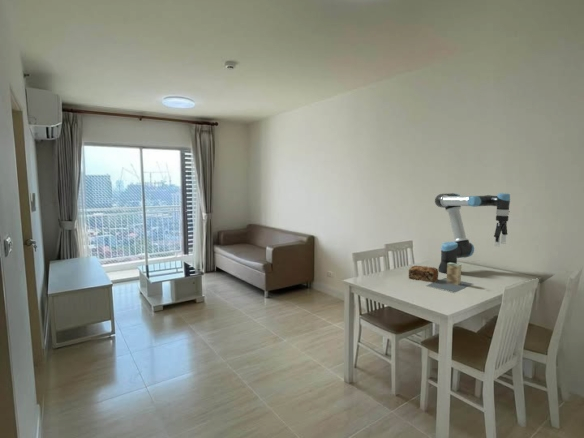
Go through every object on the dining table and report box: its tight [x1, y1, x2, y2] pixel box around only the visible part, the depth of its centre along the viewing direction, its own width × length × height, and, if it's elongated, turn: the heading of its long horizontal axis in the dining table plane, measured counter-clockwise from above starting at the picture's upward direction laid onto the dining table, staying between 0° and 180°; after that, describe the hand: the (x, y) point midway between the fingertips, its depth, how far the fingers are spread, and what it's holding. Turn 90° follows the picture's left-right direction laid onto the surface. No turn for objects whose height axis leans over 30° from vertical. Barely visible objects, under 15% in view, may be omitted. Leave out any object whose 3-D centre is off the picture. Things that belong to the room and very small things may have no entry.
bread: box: [408, 265, 439, 283], centre depth 251 cm, size 19×11×10 cm, turn 44°
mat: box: [425, 277, 473, 294], centre depth 236 cm, size 20×28×1 cm
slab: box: [446, 263, 462, 285], centre depth 238 cm, size 8×4×14 cm, turn 39°
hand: (500, 244), depth 241 cm, fingers open, 13 cm apart
